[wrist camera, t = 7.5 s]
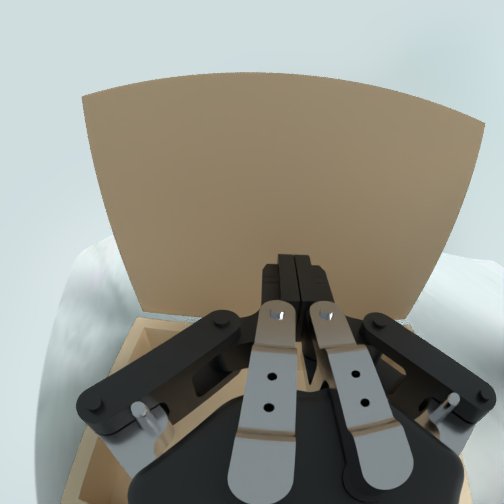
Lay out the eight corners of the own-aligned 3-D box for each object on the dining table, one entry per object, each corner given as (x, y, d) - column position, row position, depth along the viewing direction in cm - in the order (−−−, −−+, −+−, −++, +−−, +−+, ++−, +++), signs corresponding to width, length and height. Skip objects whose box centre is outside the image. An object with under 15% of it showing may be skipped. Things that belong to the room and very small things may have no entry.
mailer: (432, 517, 7) (472, 502, 5) (96, 516, 8) (60, 504, 6) (392, 359, 21) (410, 324, 19) (149, 353, 22) (136, 316, 20)
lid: (485, 123, 9) (479, 120, 9) (81, 96, 10) (88, 94, 10) (405, 318, 19) (403, 313, 20) (143, 311, 20) (145, 305, 20)
